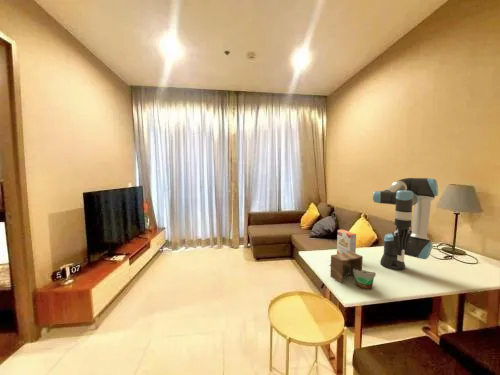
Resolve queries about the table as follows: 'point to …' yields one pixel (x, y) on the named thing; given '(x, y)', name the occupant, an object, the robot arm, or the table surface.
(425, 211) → the robot arm
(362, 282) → the food container
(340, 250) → the cracker box
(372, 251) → the table surface
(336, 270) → the walnut shelf
